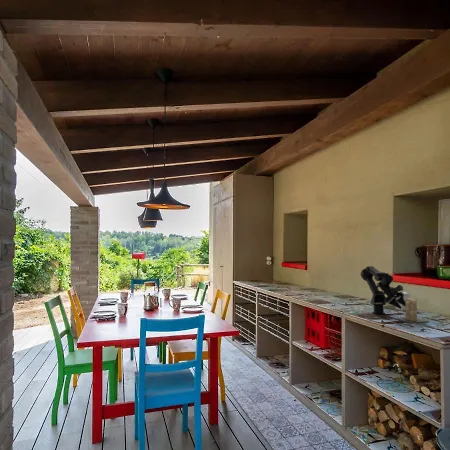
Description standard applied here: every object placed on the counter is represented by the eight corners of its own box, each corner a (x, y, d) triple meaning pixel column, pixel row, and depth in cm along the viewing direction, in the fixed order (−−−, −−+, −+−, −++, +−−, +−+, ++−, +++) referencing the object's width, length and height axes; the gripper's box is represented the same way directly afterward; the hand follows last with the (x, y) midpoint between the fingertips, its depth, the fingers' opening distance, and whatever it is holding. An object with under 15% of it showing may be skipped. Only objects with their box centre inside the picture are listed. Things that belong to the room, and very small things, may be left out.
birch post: (405, 319, 232) (405, 299, 233) (409, 318, 236) (408, 298, 236) (414, 320, 229) (413, 300, 229) (417, 319, 232) (416, 299, 233)
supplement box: (403, 308, 272) (403, 291, 273) (410, 310, 265) (410, 293, 265) (394, 309, 271) (394, 292, 271) (401, 310, 263) (401, 293, 264)
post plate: (394, 318, 237) (394, 312, 237) (412, 317, 241) (411, 311, 241) (410, 323, 224) (410, 316, 224) (429, 322, 227) (429, 315, 228)
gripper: (389, 282, 234) (407, 301, 226) (400, 279, 247) (418, 298, 238) (377, 293, 240) (394, 312, 231) (389, 290, 252) (406, 308, 244)
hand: (404, 307), depth 236 cm, fingers open, 9 cm apart
